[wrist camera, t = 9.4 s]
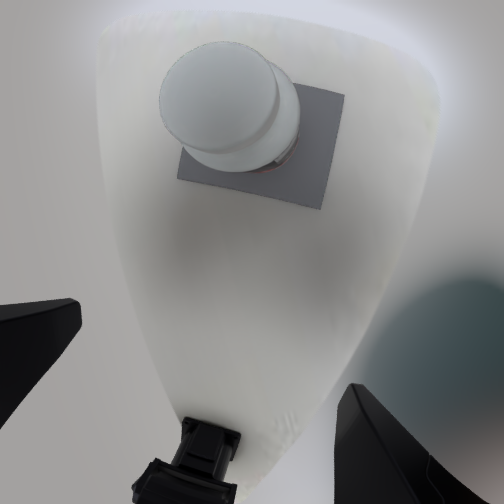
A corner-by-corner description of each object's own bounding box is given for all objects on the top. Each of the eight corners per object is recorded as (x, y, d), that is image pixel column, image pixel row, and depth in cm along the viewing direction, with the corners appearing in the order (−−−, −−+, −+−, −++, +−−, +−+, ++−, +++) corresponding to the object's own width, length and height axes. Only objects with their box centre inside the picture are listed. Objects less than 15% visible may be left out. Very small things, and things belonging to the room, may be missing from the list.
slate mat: (319, 209, 18) (320, 209, 18) (179, 178, 19) (176, 178, 19) (343, 96, 16) (344, 94, 15) (201, 73, 17) (200, 72, 16)
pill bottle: (207, 160, 18) (121, 150, 9) (232, 87, 16) (172, 18, 7) (284, 185, 17) (268, 194, 8) (310, 109, 16) (321, 42, 7)
